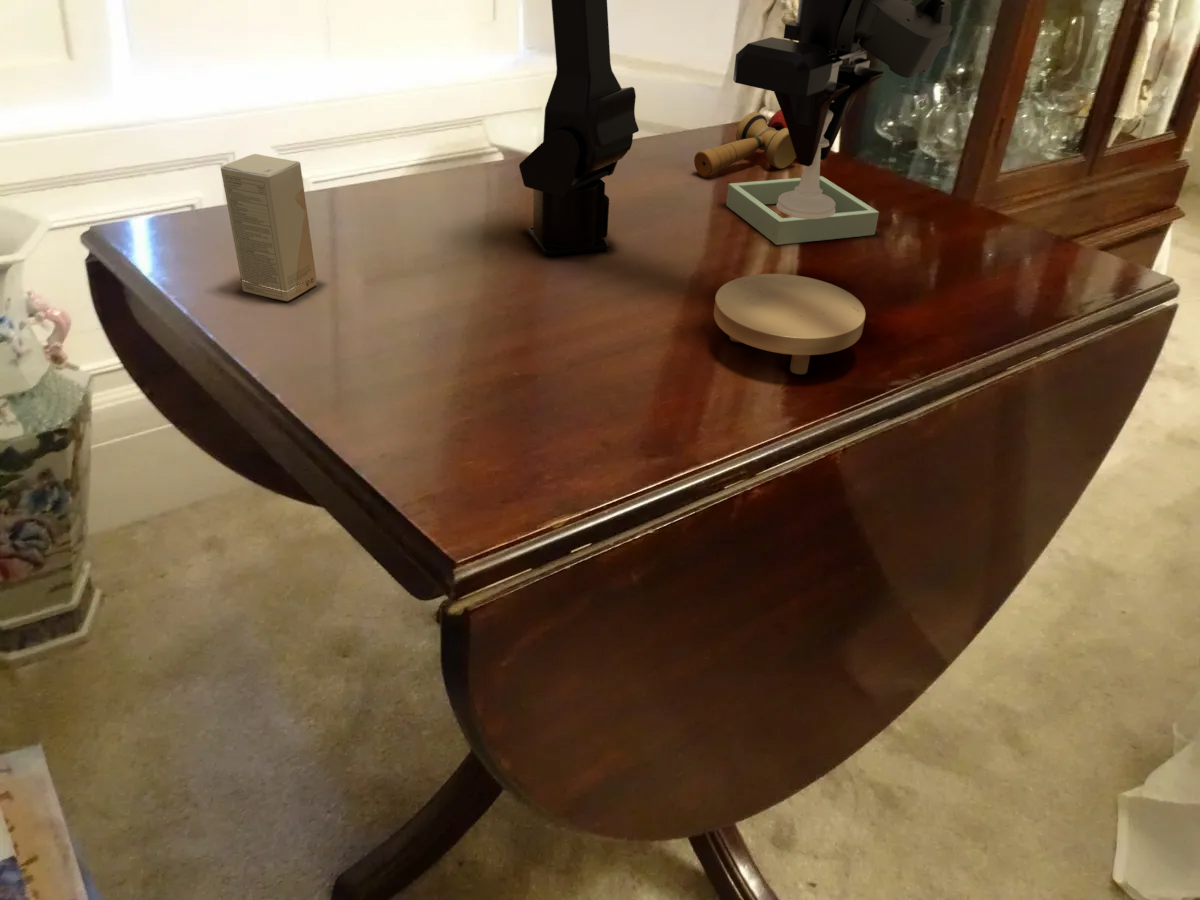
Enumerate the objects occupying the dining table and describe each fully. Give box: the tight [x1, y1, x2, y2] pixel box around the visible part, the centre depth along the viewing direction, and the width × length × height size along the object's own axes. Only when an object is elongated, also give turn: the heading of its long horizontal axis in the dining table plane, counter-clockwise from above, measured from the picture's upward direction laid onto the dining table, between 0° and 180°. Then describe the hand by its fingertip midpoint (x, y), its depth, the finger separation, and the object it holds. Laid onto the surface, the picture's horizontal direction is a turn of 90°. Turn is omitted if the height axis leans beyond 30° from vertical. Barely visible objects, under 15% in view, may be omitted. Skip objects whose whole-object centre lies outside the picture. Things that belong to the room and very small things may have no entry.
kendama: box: [693, 109, 797, 178], centre depth 124 cm, size 8×6×18 cm
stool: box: [713, 273, 867, 375], centre depth 84 cm, size 12×12×4 cm
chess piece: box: [775, 100, 836, 219], centre depth 84 cm, size 5×5×10 cm
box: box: [220, 153, 318, 302], centre depth 88 cm, size 5×4×11 cm
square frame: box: [725, 175, 880, 246], centre depth 110 cm, size 12×12×2 cm
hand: (812, 161), depth 85 cm, fingers closed on chess piece, 2 cm apart
